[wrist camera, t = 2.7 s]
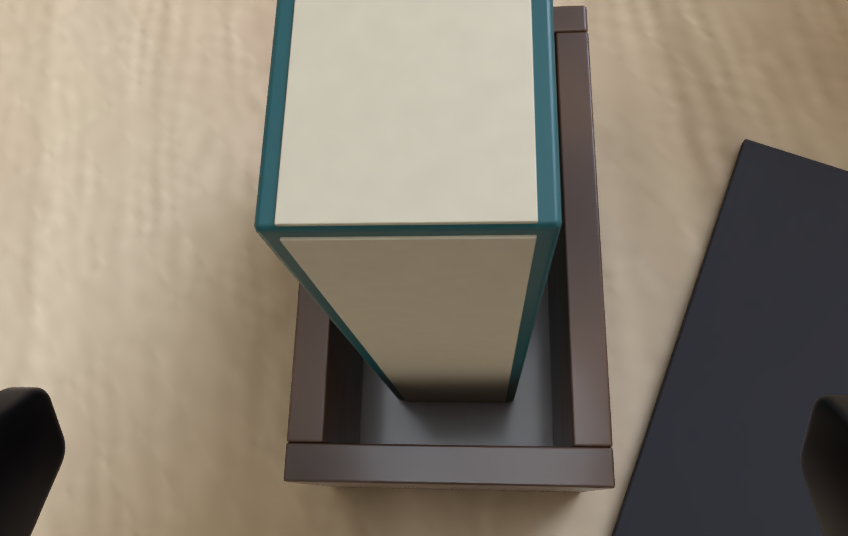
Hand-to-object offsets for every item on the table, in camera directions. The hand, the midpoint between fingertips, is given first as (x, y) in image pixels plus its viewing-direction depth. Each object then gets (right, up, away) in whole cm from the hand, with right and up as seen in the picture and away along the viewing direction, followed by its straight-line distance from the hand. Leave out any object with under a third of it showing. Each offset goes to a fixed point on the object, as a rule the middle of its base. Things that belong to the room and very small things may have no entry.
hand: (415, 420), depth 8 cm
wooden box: (+1, +1, +13) cm, 13 cm away
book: (+1, +1, +12) cm, 12 cm away
